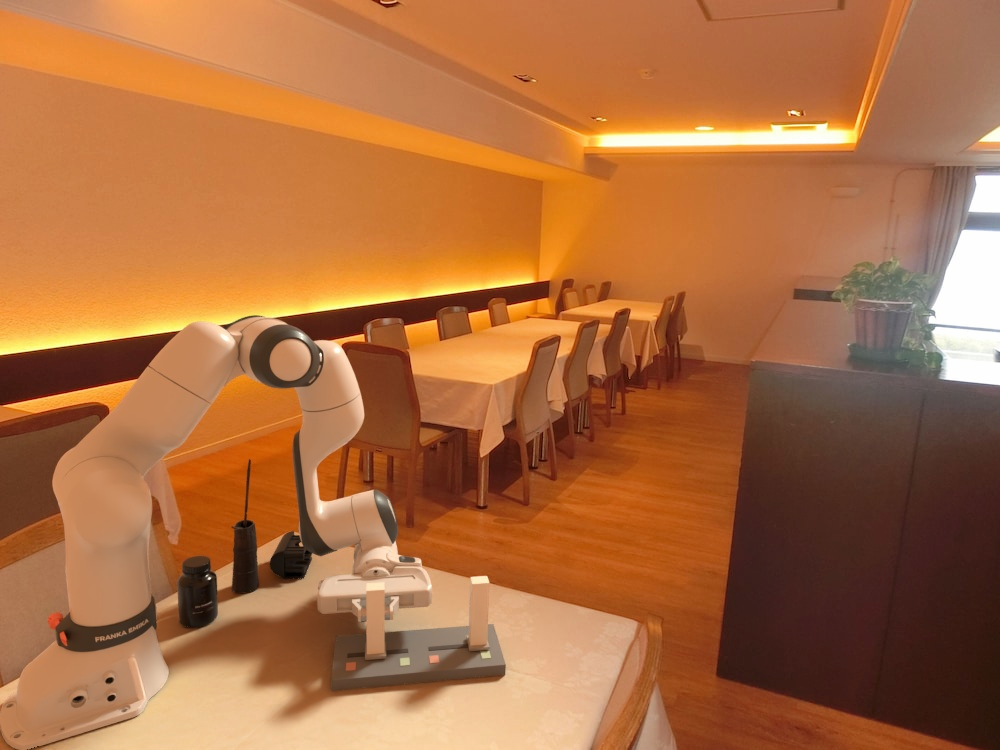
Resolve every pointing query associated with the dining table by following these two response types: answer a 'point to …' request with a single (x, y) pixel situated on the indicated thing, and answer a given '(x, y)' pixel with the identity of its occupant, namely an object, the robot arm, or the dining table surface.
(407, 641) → the breaker panel
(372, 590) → the breaker lever
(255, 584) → the butter churn
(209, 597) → the supplement bottle
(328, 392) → the robot arm
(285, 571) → the end cap
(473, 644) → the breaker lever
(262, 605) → the dining table surface
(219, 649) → the dining table surface
